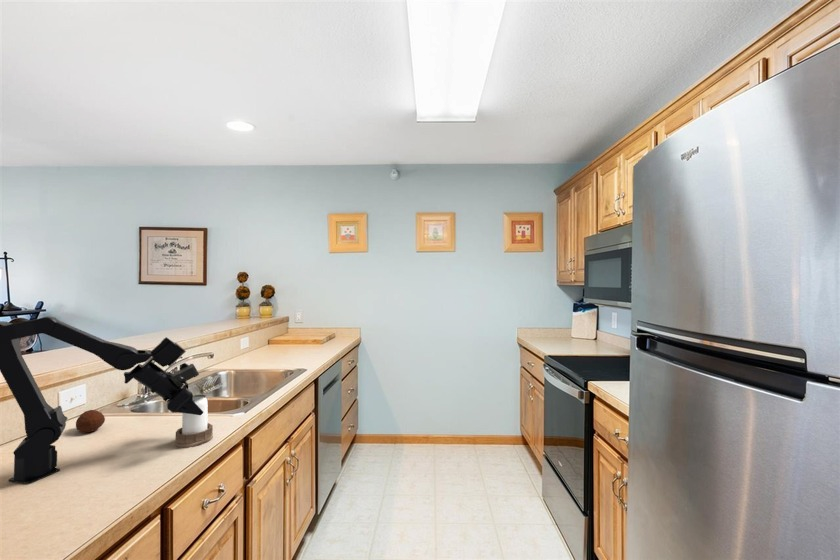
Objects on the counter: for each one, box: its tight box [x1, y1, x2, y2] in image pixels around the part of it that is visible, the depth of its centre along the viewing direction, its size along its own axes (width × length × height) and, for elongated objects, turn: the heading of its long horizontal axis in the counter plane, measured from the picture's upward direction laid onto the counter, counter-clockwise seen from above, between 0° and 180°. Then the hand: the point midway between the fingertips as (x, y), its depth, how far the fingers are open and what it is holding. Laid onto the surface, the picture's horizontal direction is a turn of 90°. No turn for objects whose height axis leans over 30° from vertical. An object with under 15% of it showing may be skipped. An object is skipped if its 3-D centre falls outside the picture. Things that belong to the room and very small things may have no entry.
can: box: [181, 394, 209, 435], centre depth 108 cm, size 6×6×12 cm
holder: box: [174, 422, 214, 449], centre depth 108 cm, size 10×10×4 cm
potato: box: [75, 409, 106, 434], centre depth 115 cm, size 7×9×6 cm
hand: (200, 409), depth 109 cm, fingers open, 9 cm apart
